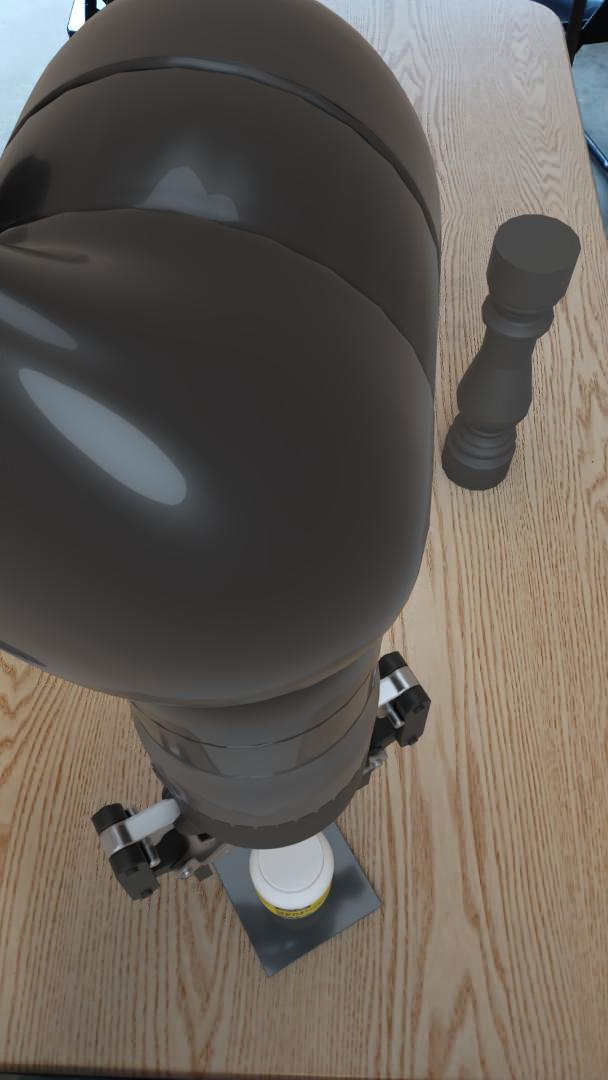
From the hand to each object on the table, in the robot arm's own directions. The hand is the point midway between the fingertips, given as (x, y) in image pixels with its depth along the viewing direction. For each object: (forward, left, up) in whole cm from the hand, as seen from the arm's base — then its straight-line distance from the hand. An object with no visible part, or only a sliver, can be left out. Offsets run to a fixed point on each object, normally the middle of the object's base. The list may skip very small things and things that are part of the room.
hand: (275, 813), depth 41 cm
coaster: (0, 0, -21) cm, 21 cm away
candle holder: (+32, +23, -21) cm, 45 cm away
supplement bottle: (0, 0, -21) cm, 21 cm away
